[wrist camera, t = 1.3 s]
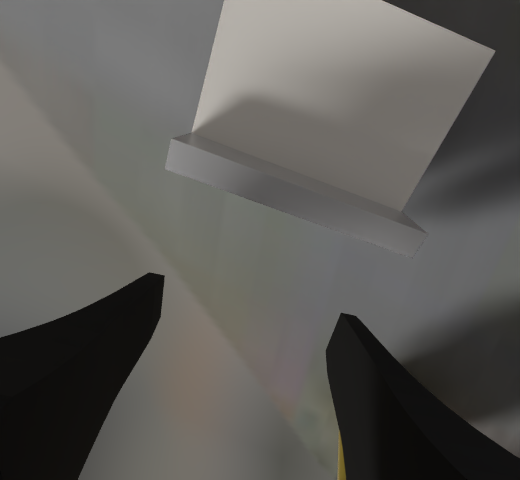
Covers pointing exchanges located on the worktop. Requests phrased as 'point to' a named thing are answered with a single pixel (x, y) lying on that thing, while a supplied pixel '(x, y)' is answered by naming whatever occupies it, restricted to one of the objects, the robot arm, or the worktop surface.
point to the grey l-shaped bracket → (328, 111)
